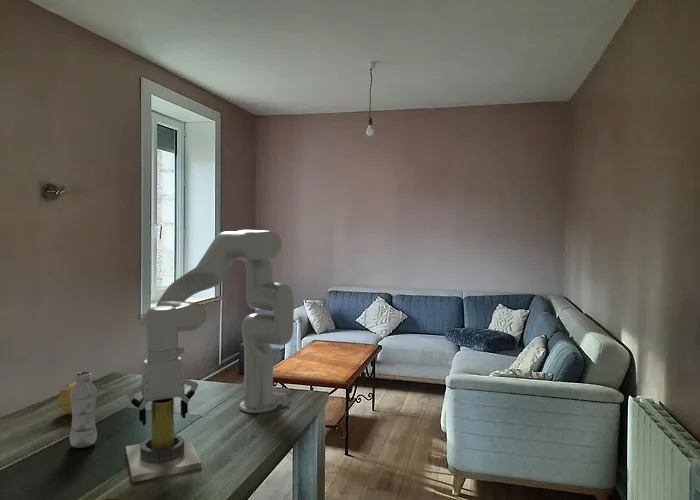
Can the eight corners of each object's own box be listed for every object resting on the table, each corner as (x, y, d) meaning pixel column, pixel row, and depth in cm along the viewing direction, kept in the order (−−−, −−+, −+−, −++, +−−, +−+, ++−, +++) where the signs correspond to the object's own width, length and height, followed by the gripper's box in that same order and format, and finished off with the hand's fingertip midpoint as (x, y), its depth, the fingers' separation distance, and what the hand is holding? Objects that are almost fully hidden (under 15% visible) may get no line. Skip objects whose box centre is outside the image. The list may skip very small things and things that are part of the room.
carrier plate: (188, 440, 141) (188, 425, 141) (201, 468, 125) (201, 450, 125) (126, 451, 133) (126, 435, 133) (131, 482, 118) (131, 463, 117)
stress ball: (97, 413, 163) (89, 388, 168) (96, 397, 156) (88, 371, 162) (62, 425, 157) (55, 398, 162) (60, 408, 151) (53, 382, 156)
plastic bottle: (76, 440, 140) (75, 370, 139) (101, 440, 140) (100, 370, 139) (64, 451, 133) (64, 377, 132) (91, 450, 134) (90, 376, 133)
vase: (166, 460, 126) (166, 404, 125) (145, 457, 127) (144, 402, 126) (179, 449, 132) (179, 396, 131) (159, 447, 133) (158, 394, 132)
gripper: (194, 347, 136) (195, 409, 137) (124, 355, 127) (126, 420, 129) (200, 354, 129) (201, 418, 130) (127, 362, 121) (128, 431, 122)
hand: (163, 419), depth 129 cm, fingers open, 9 cm apart
